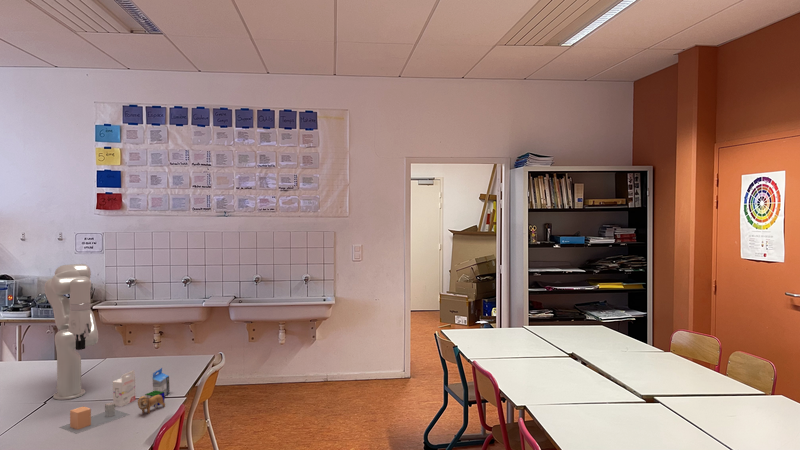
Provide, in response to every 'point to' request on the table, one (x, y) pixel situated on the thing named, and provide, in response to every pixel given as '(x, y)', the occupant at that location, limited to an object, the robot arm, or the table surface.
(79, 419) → the orange wooden cube
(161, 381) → the label tape box
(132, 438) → the table surface
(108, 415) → the post
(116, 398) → the ink cartridge box
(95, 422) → the board
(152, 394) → the puzzle toy
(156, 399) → the lion figurine
